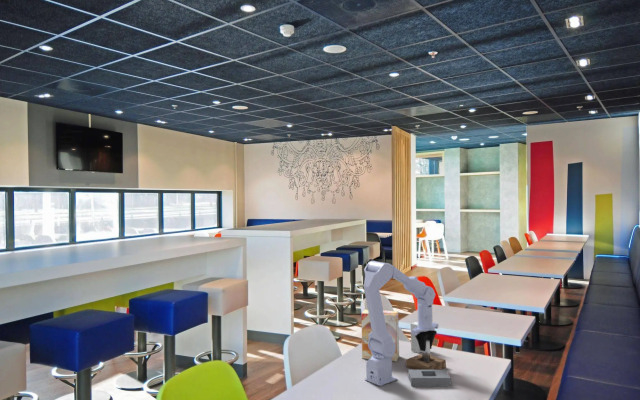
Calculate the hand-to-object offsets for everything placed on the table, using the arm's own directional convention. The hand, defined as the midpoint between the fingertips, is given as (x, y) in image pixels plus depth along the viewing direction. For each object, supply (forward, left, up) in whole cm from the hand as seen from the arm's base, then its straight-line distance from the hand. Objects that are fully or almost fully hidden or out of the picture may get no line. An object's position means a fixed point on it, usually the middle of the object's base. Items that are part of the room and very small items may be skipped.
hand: (425, 349), depth 185 cm
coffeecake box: (-5, +20, -7) cm, 22 cm away
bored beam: (-11, -10, -7) cm, 16 cm away
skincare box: (+14, +15, -7) cm, 22 cm away
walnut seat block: (0, 0, -7) cm, 7 cm away
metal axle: (0, 0, -4) cm, 4 cm away
